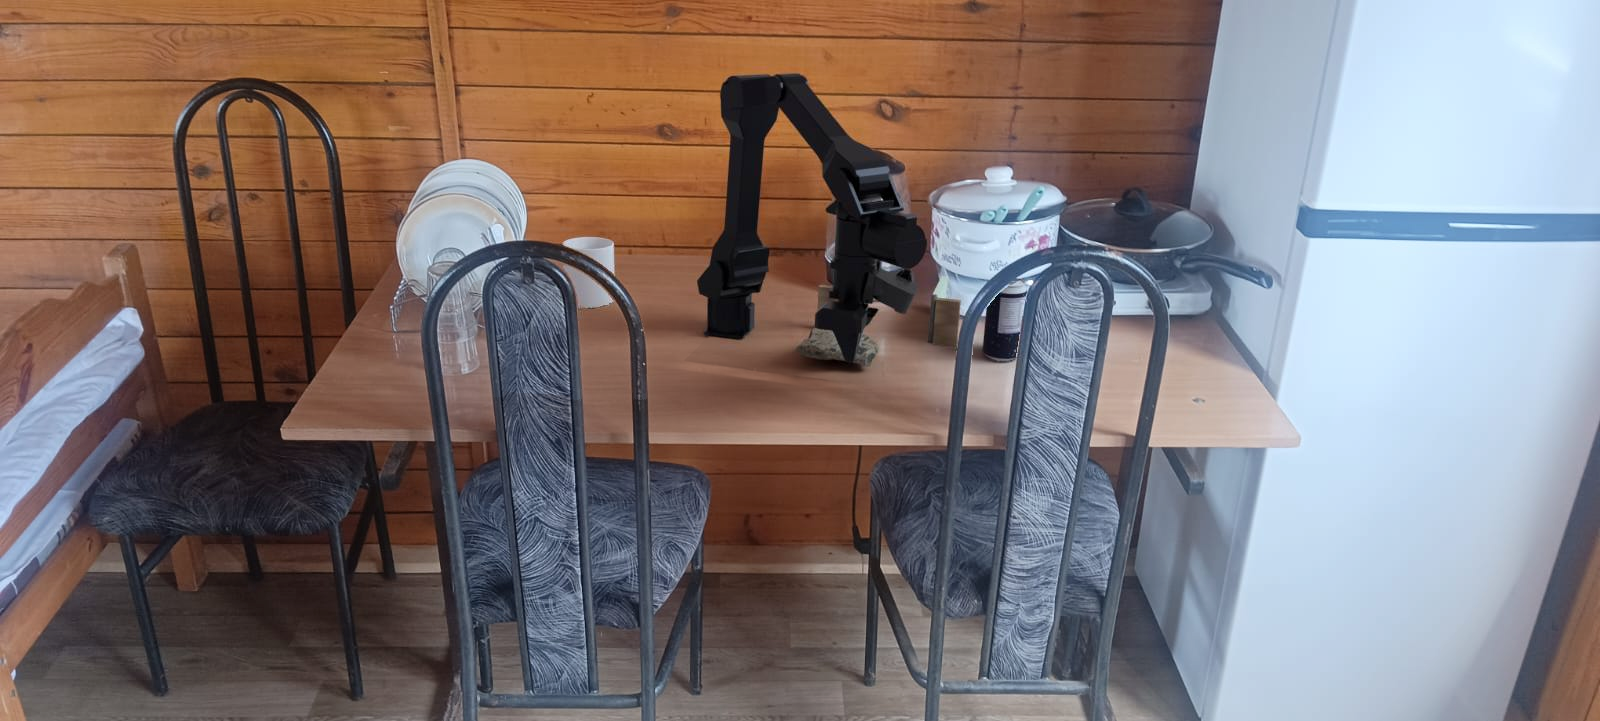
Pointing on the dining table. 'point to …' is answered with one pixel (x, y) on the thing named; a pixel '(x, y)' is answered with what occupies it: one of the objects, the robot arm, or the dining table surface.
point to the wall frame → (941, 317)
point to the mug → (584, 285)
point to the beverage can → (1004, 323)
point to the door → (941, 287)
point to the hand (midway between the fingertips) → (849, 361)
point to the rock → (835, 347)
